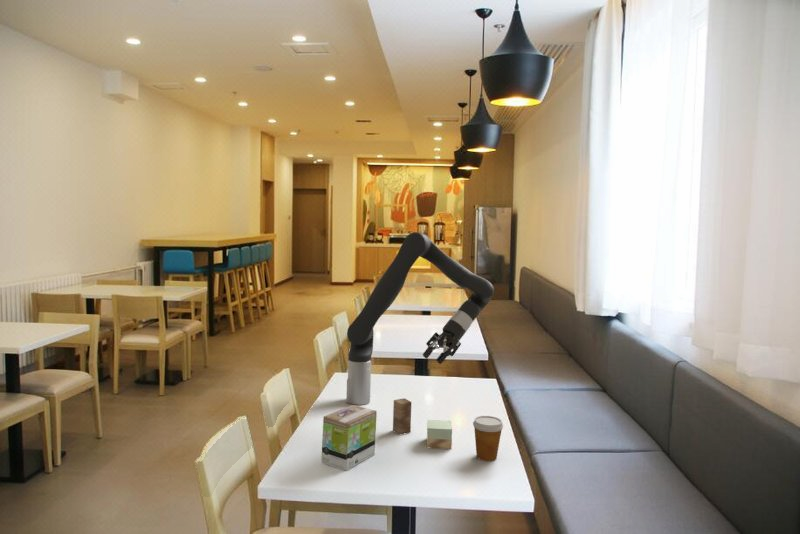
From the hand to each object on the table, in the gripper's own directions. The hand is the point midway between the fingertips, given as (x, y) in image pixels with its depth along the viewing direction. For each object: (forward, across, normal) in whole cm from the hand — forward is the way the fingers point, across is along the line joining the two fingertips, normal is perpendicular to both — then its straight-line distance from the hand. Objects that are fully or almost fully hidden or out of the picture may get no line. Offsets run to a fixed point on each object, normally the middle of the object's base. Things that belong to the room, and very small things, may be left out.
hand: (431, 359), depth 207 cm
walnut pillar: (+26, 0, +9) cm, 27 cm away
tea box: (+44, +12, -10) cm, 47 cm away
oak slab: (+22, +15, +13) cm, 30 cm away
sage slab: (+20, +15, +11) cm, 27 cm away
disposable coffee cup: (+17, +31, +18) cm, 39 cm away
